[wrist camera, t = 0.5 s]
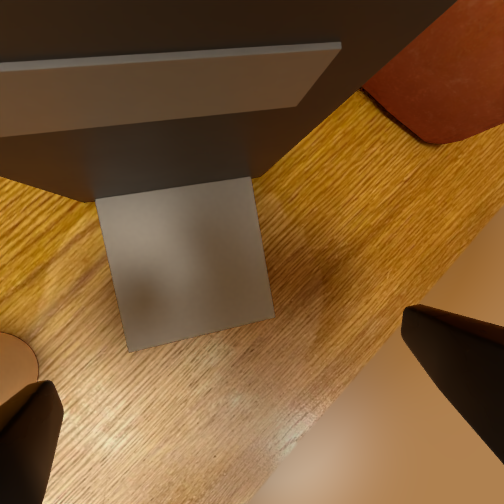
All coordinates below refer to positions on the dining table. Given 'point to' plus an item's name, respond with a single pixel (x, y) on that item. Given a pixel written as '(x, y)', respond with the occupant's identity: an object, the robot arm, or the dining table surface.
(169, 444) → the dining table surface
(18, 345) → the beige cylinder
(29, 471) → the robot arm
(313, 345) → the dining table surface
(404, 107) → the bread
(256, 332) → the dining table surface
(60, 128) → the coffee maker
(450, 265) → the dining table surface
